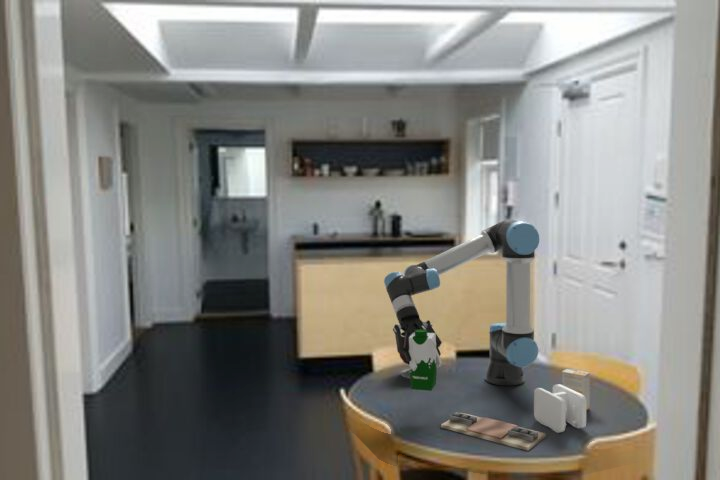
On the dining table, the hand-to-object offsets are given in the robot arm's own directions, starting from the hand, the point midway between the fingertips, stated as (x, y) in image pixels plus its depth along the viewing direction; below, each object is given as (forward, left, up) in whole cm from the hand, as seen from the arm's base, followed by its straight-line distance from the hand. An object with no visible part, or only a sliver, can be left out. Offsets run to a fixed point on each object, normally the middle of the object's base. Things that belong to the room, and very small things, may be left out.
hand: (427, 366), depth 211 cm
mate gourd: (-19, -47, -19) cm, 54 cm away
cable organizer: (-37, +21, -19) cm, 47 cm away
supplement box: (-52, +11, -19) cm, 57 cm away
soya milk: (0, -3, -8) cm, 9 cm away
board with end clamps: (-14, +17, -18) cm, 29 cm away
